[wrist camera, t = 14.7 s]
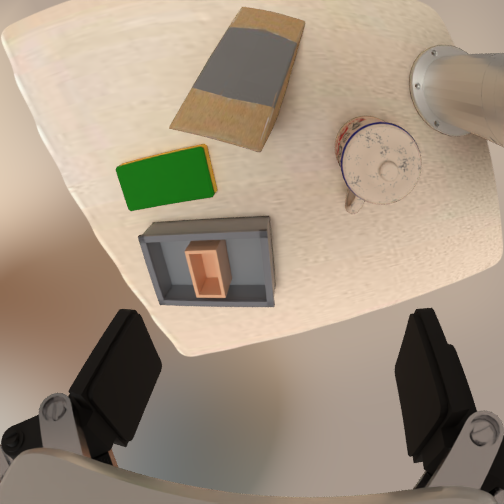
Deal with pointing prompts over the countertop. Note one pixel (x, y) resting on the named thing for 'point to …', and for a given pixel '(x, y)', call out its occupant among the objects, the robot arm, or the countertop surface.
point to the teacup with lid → (376, 162)
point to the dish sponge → (167, 178)
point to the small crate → (209, 268)
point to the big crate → (239, 253)
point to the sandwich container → (243, 80)
